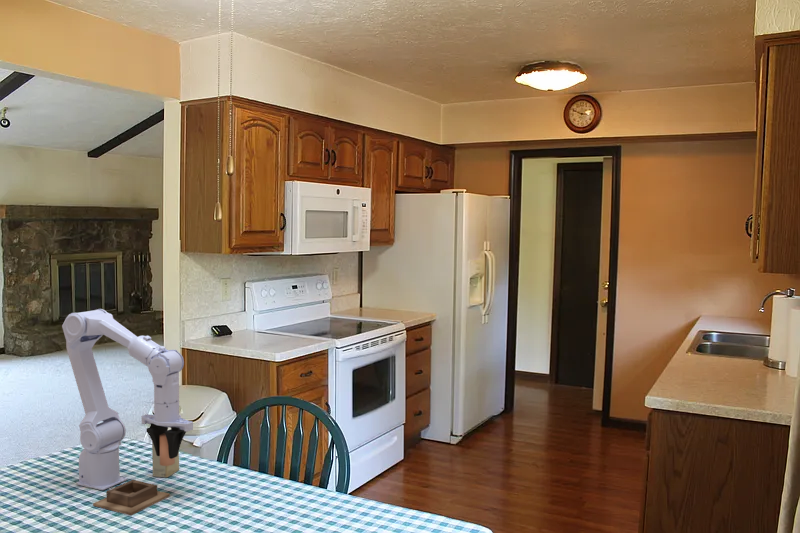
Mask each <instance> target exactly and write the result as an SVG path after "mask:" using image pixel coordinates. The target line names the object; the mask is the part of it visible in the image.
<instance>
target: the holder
mask: <svg viewBox="0 0 800 533" xmlns="http://www.w3.org/2000/svg"><path fill="white" fill-rule="evenodd" d="M169 497H171V493H168V492H164V491H160V490H158V484H153V483H149V482H146V481H145V482H144V481H140V480H135V479H132V480H131V479H130V480H129V481H126V482H124V483H122V484H119V485H117V486H115V487H113V488H111V489H108V490H107V491H106V497H104V498H101V499H99V500H97V501H95V502H93V503H92V506H93V507H97V508H100V507H101V509H104V508H105V510H109V511H112V512H116V513H119V512H120V514H124V515H128V516H133V515H135V514H137V513H139V512H141V511H144V510H145V509H147V508H149V507H152V506H153V505H155V504H157V503H159V502H161V501H163V500H165V499H168V498H169Z"/></svg>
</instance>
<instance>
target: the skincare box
mask: <svg viewBox="0 0 800 533" xmlns="http://www.w3.org/2000/svg"><path fill="white" fill-rule="evenodd" d="M170 429H171V428H169V427H168V430H170ZM151 445H152V446H151V447H152V448H151V449H152V452H151V453H152V455H151V456H152V457H151V458H152V459H151V460H152V477H157V478H169V477H170V476H171V475H174V474H175V473H177V472H178V471H179V470H180V453H179V452H180V451H179V452H178V456H177V457H175V463H174V464H173V465H169V466H162V465H160V456H157V455H156V451H155V448H154V444H153V442H152V441H151Z"/></svg>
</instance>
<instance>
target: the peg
mask: <svg viewBox="0 0 800 533" xmlns="http://www.w3.org/2000/svg"><path fill="white" fill-rule="evenodd" d="M174 463H175V458H172V459H170V458H169V450H168V442H167V438H166V435H165V433H164V434H161V435H160V465H162V466H169V465H173V464H174Z"/></svg>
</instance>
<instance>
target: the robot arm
mask: <svg viewBox="0 0 800 533" xmlns="http://www.w3.org/2000/svg"><path fill="white" fill-rule="evenodd" d="M61 327H62V331H63V334H64V338H65V341H66V342H65V343H66V352H67V356H68V358H69V362H70V365H71V366H70V367H71V369H72V372H73V376H74V379H75V382H76V387H77V389H78V393H79V397H80V400H81V404H82V407H83V409H84V413H85V414H84V416H83V419H82V420H81V422H80V423H79V425H78V427H79V431H80V437H79V440H80V444H81V446H82V448H83V449H82V450H81V452H80V454H79V457H78V480H79V481H76V483H75V484H76V485H77V486H78V485H79V486H82V487H87V488H91V489H95V490H100V491H105V490H107V489H109V488H112V487H114V486H116V485H118V484H119V485H120V484H121V483H123V482H127V480H128V477H124V476H120V446H121V445H122V441H123V440H124V438H125V436H126V426H125V424H124V422H123V421H122V420H121V418H120V416H119V413H118V412H117V411H116V410H113V408H111V407H109V404H108V400H107V397H106V395H105V394H106V393H105V391H104V386H103V384H102V381H101V377H100V373H99V369H98V367H97V363H96V359H95V355H94V353H93V347H94V346H95V344H96V342H98V341H99V339H101V338H102V337H103V336H105V337H107V338H109V339H111V340H113V341H114V342H116V343H117V344H120V345H121V346H123V347H125V348H127V350H128V354H129V356H130V357H133V359H135V360H136V361H138V362H140V363H141V364H143V365H144V366H146V367H147V369H148V372H149V374H150V375H151V377H152V378H151V380H152V383H153V398H154V399H153V401H154V402H153V404H154V405H153V406H154V407H153V410H154V414H149V413H147V414H143V415H141V424H142V425H147V424H148V425H149V427H147V428H146V433H147V434H148V436H149V438H150V439H151V443H152V442H153V444H154V448H155V451H156V455H157V456H160V435H161V434H164V433H165V435H166V438H167V442H168V450H169V458H170V459H172V458H175V457H177V456H178V452H180V447H181V444H182V441H183V439H184V437H185V435H186V433H187V432H191V431H192V430H194V422H193V421H191V420H188V419H185V418H183V417H182V414H180V372H181V371H182V370H183V368H184V365H185V361H184V360H185V359H184V357H183V355H182V354H181V352H179V351H178V349H167V348H166V346H164V345H160V344H159V343H157V342H155V341H154V340H152V337H151V336H150V335H139V336H137V335H136V334H135V333H133V332H132V331H130V330H129V329H127V328H126V327H125V326H124V325H122V324H121V323H119V322H118V321H117V320H116V319H115V318H114V315H113V314H112V313H110V312H107V311H106V310H105V309H102V308H98V309H97V308H96V309H94V310H88V311H81V312H71V313H69V314H68V315H66V317H65V319H64V322H63V324H62V325H61ZM168 427H169V428H171V429H170V430H168Z"/></svg>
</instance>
